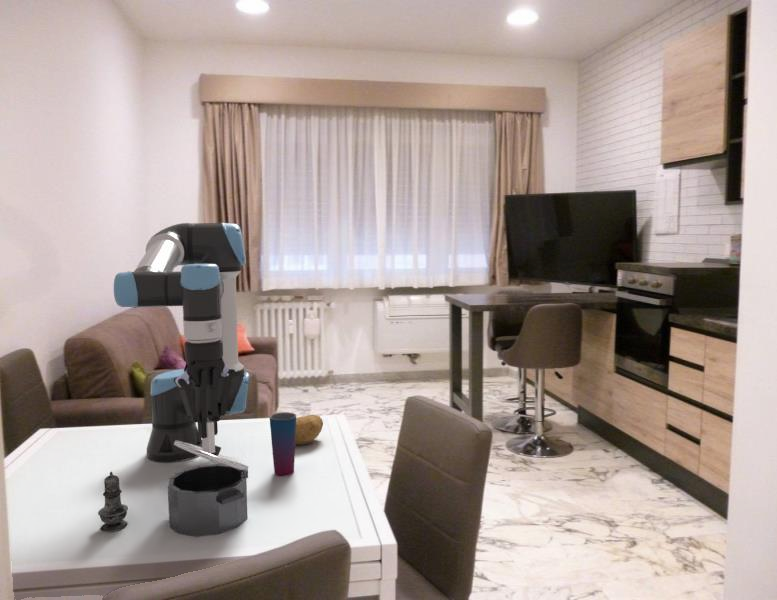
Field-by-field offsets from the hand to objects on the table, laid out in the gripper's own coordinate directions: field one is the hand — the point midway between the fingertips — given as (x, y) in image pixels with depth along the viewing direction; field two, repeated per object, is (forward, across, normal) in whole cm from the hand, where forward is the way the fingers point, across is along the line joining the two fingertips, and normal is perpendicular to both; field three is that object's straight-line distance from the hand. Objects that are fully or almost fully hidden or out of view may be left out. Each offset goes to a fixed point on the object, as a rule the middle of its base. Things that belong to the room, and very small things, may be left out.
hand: (208, 451), depth 128 cm
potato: (+17, +47, +29) cm, 58 cm away
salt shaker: (+16, -14, +15) cm, 27 cm away
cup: (+17, +29, +14) cm, 36 cm away
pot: (+16, +2, +4) cm, 17 cm away
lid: (+3, +3, +4) cm, 6 cm away
